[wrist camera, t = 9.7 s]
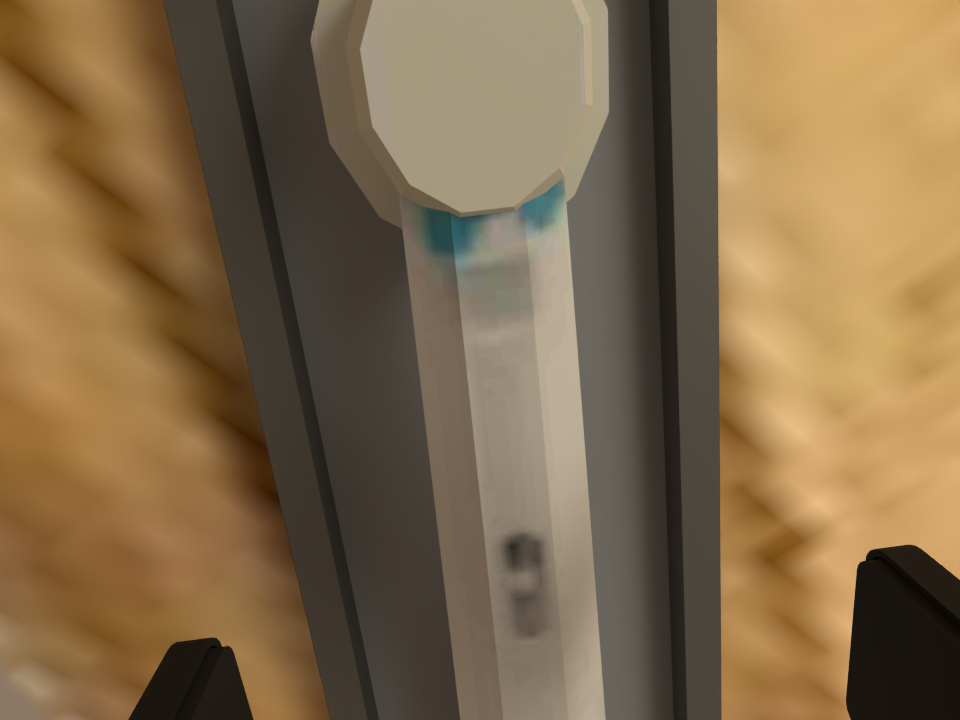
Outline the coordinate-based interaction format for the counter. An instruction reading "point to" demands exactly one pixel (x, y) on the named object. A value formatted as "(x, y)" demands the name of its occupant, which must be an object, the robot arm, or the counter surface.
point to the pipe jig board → (395, 372)
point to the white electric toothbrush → (489, 309)
